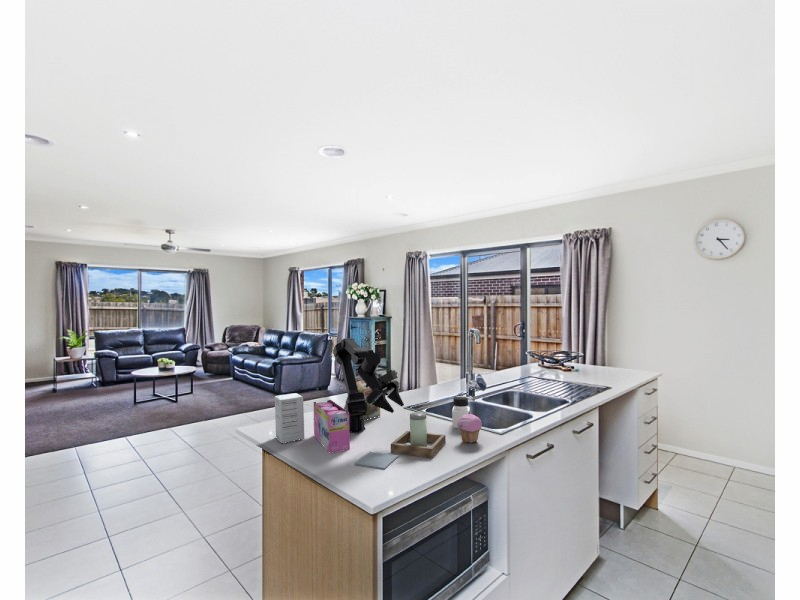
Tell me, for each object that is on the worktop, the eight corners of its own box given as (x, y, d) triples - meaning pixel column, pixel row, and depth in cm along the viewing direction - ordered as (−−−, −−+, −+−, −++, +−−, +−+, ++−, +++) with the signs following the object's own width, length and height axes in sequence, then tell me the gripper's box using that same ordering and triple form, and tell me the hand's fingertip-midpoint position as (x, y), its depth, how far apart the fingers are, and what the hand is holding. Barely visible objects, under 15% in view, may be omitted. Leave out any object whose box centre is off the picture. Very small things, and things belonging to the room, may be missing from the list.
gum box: (312, 434, 162) (311, 401, 162) (331, 431, 166) (330, 398, 166) (329, 453, 141) (328, 415, 141) (350, 449, 144) (349, 411, 145)
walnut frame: (390, 452, 140) (390, 443, 140) (407, 438, 154) (407, 430, 154) (432, 457, 134) (432, 449, 134) (445, 442, 148) (445, 434, 148)
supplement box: (305, 439, 156) (303, 396, 156) (281, 444, 152) (280, 400, 152) (298, 433, 165) (297, 392, 165) (275, 437, 160) (274, 395, 160)
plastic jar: (408, 449, 142) (407, 415, 143) (414, 443, 148) (413, 411, 148) (424, 451, 140) (423, 417, 140) (429, 445, 146) (428, 412, 146)
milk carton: (366, 412, 193) (365, 373, 193) (380, 416, 185) (379, 375, 186) (348, 417, 186) (347, 376, 186) (362, 421, 178) (360, 379, 178)
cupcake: (468, 436, 155) (467, 410, 155) (487, 441, 149) (486, 414, 149) (453, 441, 149) (452, 415, 149) (472, 447, 143) (471, 419, 143)
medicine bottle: (469, 428, 164) (468, 399, 164) (452, 427, 166) (451, 398, 166) (470, 423, 171) (469, 395, 171) (453, 422, 173) (452, 395, 173)
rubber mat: (354, 464, 130) (354, 463, 130) (369, 453, 140) (369, 451, 140) (384, 469, 126) (384, 467, 126) (398, 456, 136) (398, 455, 136)
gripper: (372, 366, 141) (402, 400, 137) (394, 359, 158) (421, 389, 154) (353, 388, 144) (382, 421, 140) (376, 378, 161) (402, 408, 157)
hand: (398, 408), depth 147 cm, fingers open, 9 cm apart
